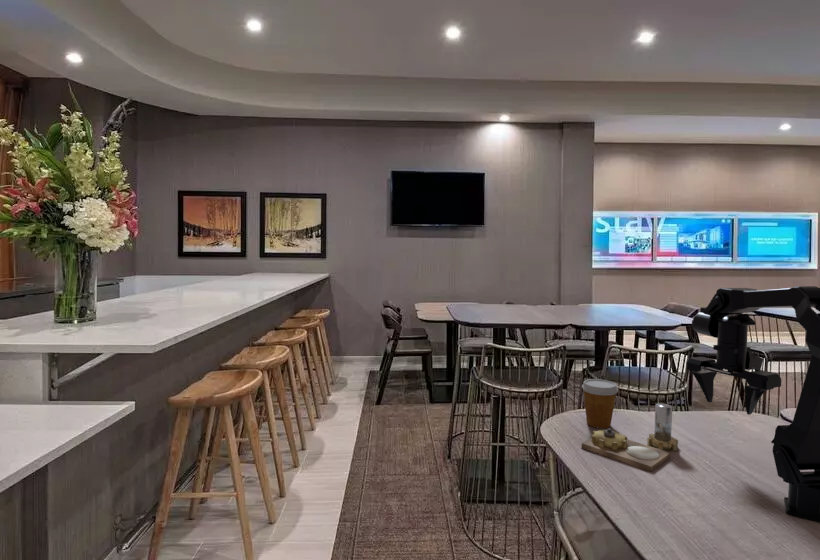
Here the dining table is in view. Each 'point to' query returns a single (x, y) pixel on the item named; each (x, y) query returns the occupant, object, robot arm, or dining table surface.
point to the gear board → (625, 449)
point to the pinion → (663, 429)
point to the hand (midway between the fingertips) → (728, 407)
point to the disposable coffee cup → (599, 402)
